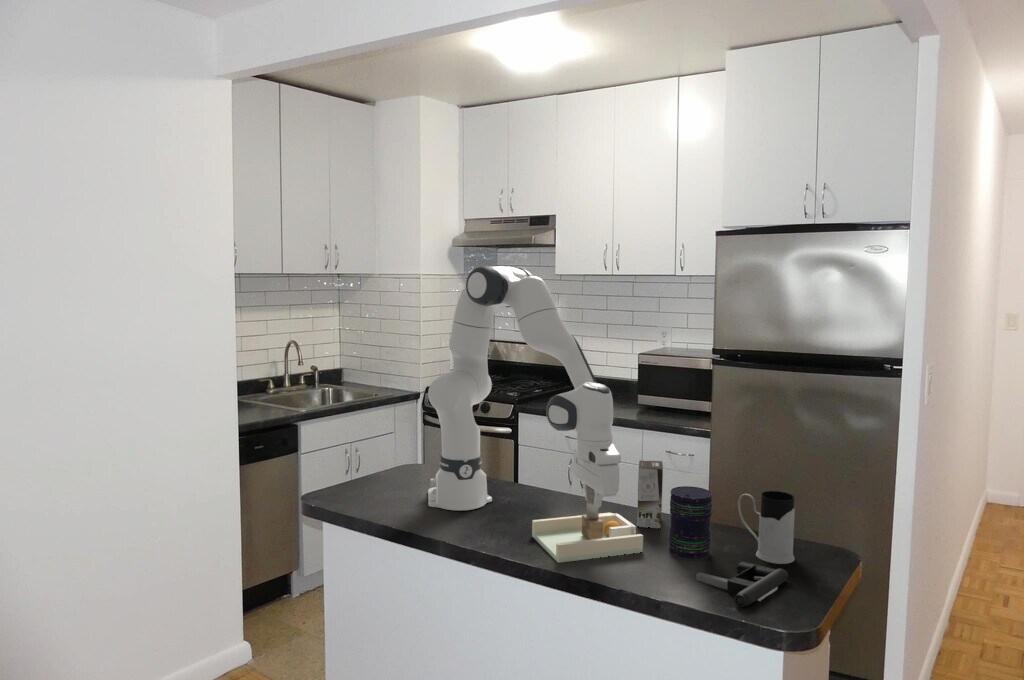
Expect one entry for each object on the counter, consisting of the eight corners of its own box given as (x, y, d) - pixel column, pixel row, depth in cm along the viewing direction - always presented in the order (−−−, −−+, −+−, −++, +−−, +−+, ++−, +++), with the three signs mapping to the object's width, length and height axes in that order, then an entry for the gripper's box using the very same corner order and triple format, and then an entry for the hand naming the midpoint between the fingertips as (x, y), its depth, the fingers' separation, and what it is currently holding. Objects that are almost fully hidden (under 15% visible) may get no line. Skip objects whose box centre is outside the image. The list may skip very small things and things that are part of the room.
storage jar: (676, 542, 189) (678, 483, 187) (715, 549, 184) (717, 490, 182) (662, 554, 180) (664, 494, 179) (703, 563, 175) (705, 500, 174)
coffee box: (661, 529, 198) (663, 469, 196) (636, 527, 199) (638, 467, 198) (661, 517, 207) (663, 460, 205) (637, 516, 208) (639, 459, 207)
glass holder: (785, 566, 173) (788, 503, 172) (728, 550, 183) (730, 490, 182) (800, 556, 180) (803, 495, 178) (744, 541, 189) (746, 483, 188)
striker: (581, 534, 189) (582, 483, 188) (592, 533, 190) (593, 482, 189) (591, 542, 184) (592, 490, 182) (602, 541, 184) (603, 489, 183)
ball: (619, 523, 191) (610, 536, 191) (608, 515, 190) (599, 528, 189) (626, 529, 187) (617, 542, 187) (615, 520, 186) (605, 533, 186)
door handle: (681, 578, 161) (751, 597, 150) (728, 553, 176) (795, 569, 164) (682, 593, 162) (751, 613, 150) (728, 567, 176) (795, 584, 164)
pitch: (532, 536, 192) (532, 516, 191) (610, 527, 198) (610, 508, 198) (557, 562, 175) (558, 541, 174) (642, 552, 181) (643, 531, 181)
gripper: (566, 440, 194) (565, 492, 195) (599, 459, 174) (598, 517, 176) (589, 439, 196) (588, 490, 197) (624, 458, 176) (623, 515, 177)
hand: (593, 503), depth 186 cm, fingers closed on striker, 3 cm apart
